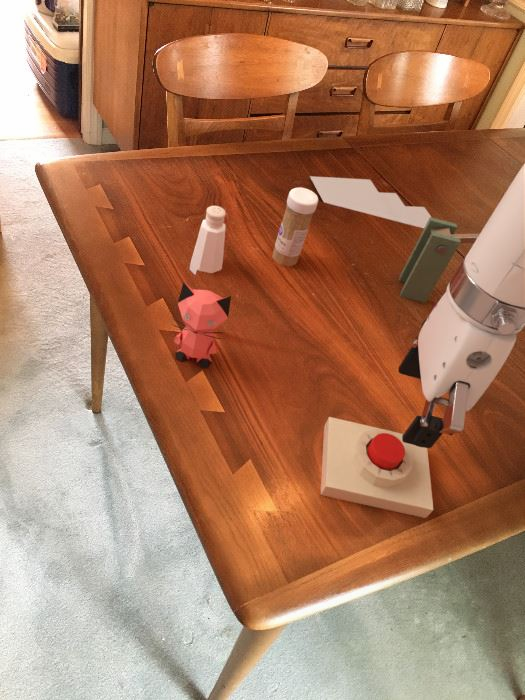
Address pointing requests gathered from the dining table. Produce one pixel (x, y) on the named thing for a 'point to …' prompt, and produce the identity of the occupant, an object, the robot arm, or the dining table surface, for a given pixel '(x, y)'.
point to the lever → (457, 235)
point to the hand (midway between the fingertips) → (412, 406)
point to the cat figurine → (200, 323)
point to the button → (386, 451)
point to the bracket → (428, 260)
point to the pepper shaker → (210, 242)
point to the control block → (373, 471)
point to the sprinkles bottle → (294, 226)
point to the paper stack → (368, 200)
